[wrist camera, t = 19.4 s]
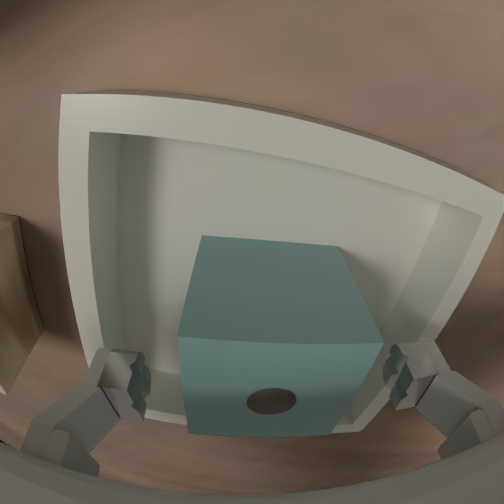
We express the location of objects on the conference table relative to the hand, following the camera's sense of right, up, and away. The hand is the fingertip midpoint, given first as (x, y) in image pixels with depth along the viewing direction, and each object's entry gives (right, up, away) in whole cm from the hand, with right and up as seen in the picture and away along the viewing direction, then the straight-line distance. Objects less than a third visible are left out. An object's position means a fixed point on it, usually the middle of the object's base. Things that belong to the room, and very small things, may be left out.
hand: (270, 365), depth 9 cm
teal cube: (0, +2, +3) cm, 4 cm away
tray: (0, +2, +4) cm, 4 cm away
